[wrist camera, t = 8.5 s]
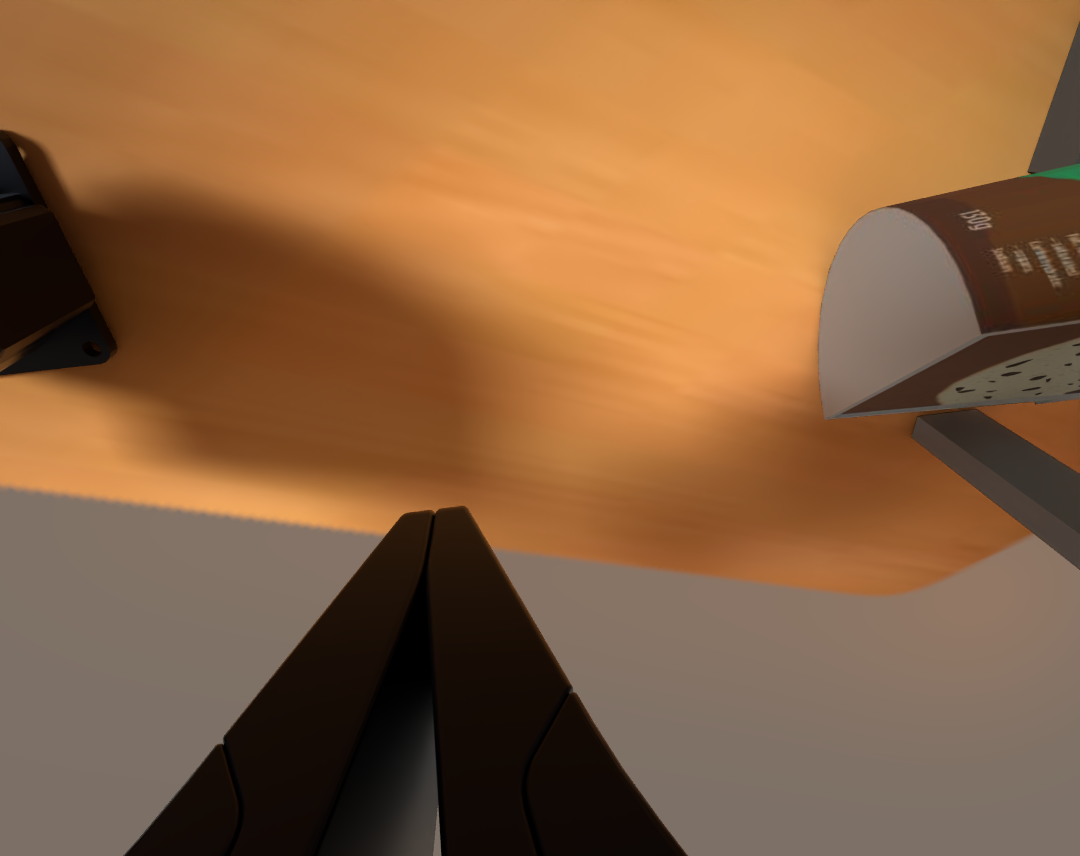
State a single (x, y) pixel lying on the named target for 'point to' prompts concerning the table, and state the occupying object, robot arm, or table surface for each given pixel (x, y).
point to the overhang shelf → (990, 448)
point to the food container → (956, 301)
